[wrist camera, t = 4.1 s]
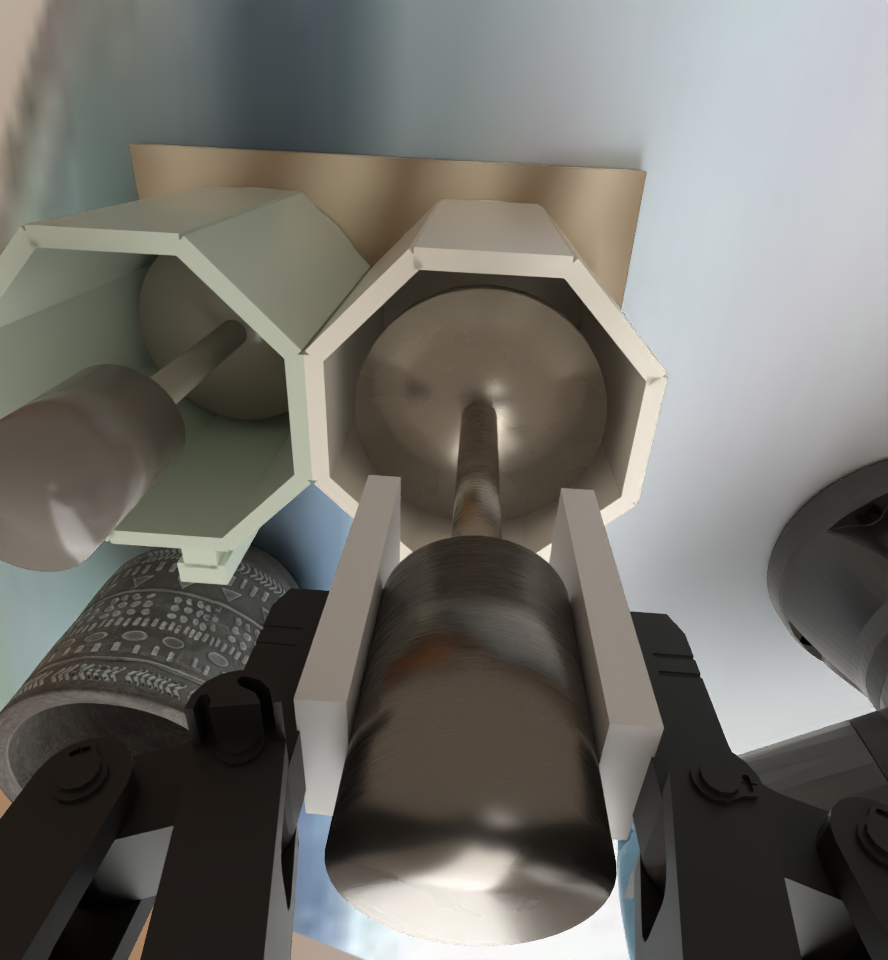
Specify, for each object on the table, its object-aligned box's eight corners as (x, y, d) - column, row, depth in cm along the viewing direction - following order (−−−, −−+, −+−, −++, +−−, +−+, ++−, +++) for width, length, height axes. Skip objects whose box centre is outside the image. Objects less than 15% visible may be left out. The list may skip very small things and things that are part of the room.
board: (640, 170, 29) (646, 171, 28) (592, 437, 36) (595, 446, 35) (141, 143, 30) (128, 143, 29) (187, 410, 37) (178, 418, 36)
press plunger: (624, 292, 19) (935, 668, 6) (582, 518, 23) (710, 1038, 10) (355, 276, 20) (73, 602, 6) (361, 503, 24) (200, 991, 10)
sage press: (374, 193, 29) (213, 289, 12) (376, 459, 37) (278, 761, 19) (145, 180, 30) (-332, 256, 12) (192, 447, 37) (-70, 733, 19)
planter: (109, 504, 41) (-66, 680, 28) (324, 513, 40) (246, 698, 27) (157, 661, 48) (35, 860, 35) (340, 670, 47) (285, 877, 34)
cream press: (607, 205, 29) (694, 263, 17) (564, 472, 36) (604, 647, 24) (374, 193, 29) (295, 240, 17) (376, 459, 37) (322, 626, 24)
